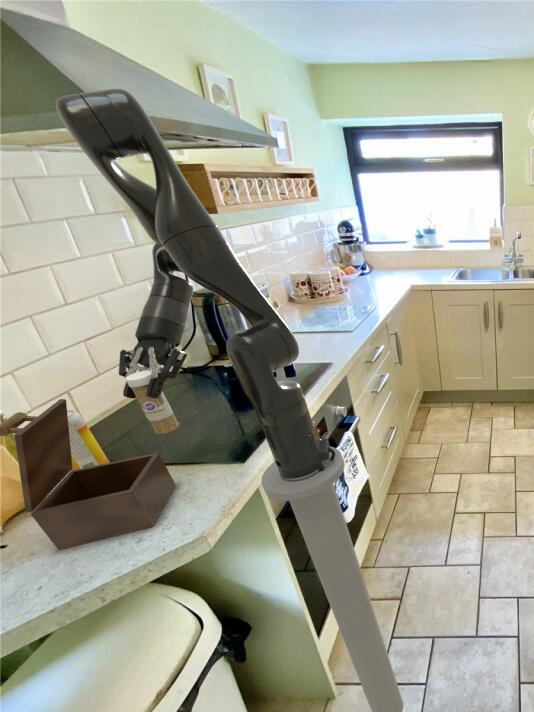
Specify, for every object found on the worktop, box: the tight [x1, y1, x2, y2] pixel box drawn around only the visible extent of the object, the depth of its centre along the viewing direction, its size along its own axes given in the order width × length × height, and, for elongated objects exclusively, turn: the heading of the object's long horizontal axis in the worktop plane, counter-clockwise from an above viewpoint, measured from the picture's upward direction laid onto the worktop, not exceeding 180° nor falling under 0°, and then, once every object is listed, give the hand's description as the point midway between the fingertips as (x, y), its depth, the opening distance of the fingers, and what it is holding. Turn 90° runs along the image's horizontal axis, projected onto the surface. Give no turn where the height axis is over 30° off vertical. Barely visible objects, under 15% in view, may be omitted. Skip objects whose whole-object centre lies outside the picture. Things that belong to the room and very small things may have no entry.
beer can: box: [67, 409, 111, 471], centre depth 92 cm, size 6×6×15 cm
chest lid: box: [0, 398, 73, 513], centre depth 73 cm, size 15×13×5 cm
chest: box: [30, 452, 177, 551], centre depth 81 cm, size 15×13×9 cm
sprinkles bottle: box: [125, 369, 180, 435], centre depth 89 cm, size 5×5×14 cm
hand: (140, 397), depth 86 cm, fingers closed on sprinkles bottle, 4 cm apart
